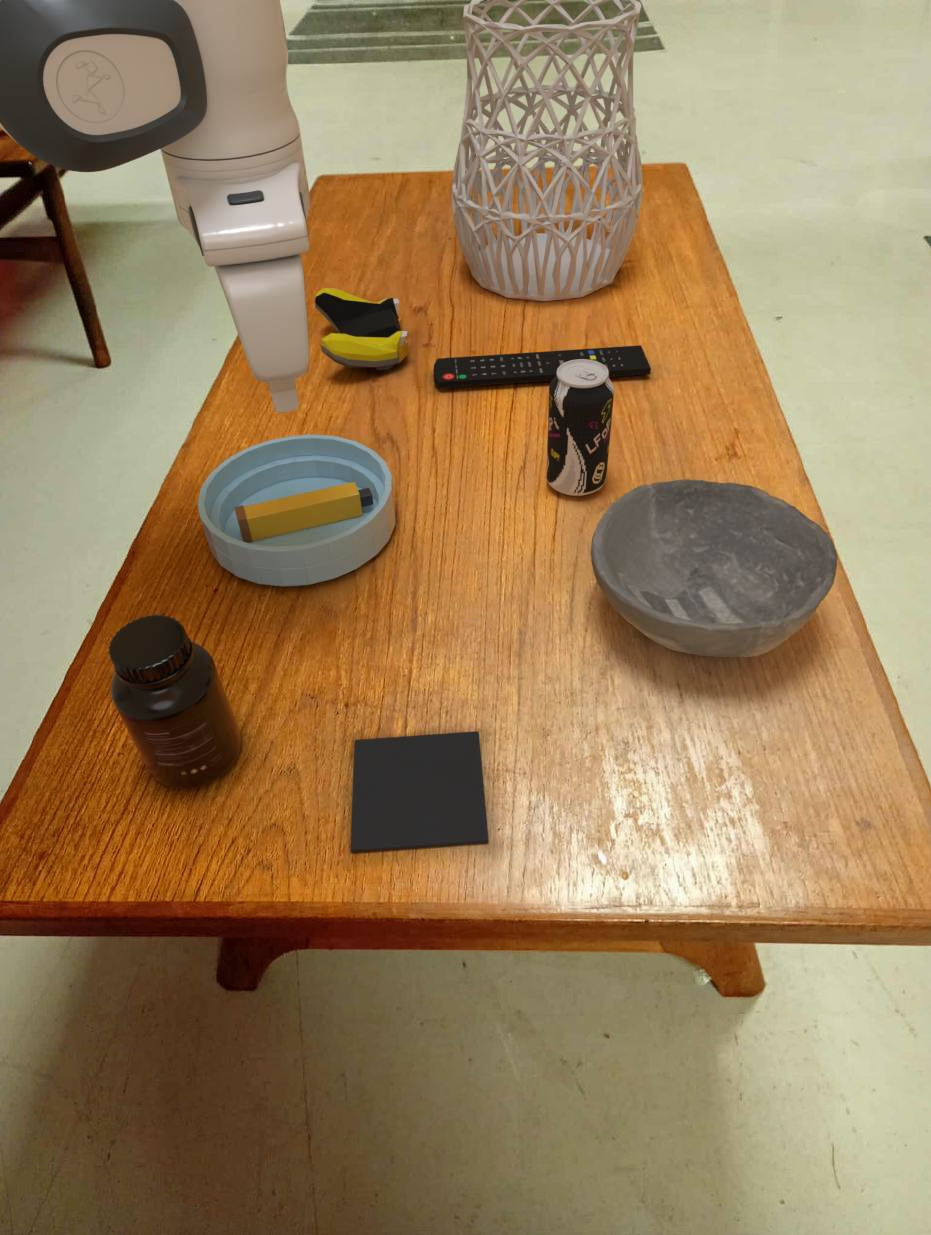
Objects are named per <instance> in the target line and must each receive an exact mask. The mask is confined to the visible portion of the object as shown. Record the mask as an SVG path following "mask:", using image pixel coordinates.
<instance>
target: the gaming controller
mask: <svg viewBox="0 0 931 1235" xmlns="http://www.w3.org/2000/svg"><path fill="white" fill-rule="evenodd" d="M314 307H315V309H317V311H318V312H319V313H320V314H321V315H322V316H323V317H324V318H325V319H326V321H327V322H328V323H329V324H330V325H331V326H332V327H333V328H334V329H335V331H336V332H337V333H335V332H330V333H329V334H327V335H326V336H324V337H323V338H321V339H320V349H321V352H322V353H323V354H324V355H325V356H326V357H328V358H329V359H330V360H332V361H333V362H334V363H337V364H339V365H341V366H342V367H345V368H348V369H350V370H351V369H367V368H375V369H376V370H378V371H379V370H380V371H386V370H390V369H393V367H394V366H395V365H398V364H401V362H402V361H403V360H404V359H405V358H406V357H407V356H409V354H410V353H409V344H408V343H409V341H408V340H407V336H408V333H409V331H407V330H403V324H402V317H401V316H400V315H399V314H398V313H399V307H400V300H399V298H393V297H387V298H383V299H381V300H379V301H376V302H375V301H374V302H373V301H370V300H367V299H365V298H362V297H359V296H356V295H354V294H351V293H349V292H346V291H344V290H341V289H339V288H336V287H335V288H334V287H323V288H321V289H320V290H319V291H317V293H316V294H315V296H314Z"/></svg>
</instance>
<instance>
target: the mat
mask: <svg viewBox="0 0 931 1235" xmlns="http://www.w3.org/2000/svg"><path fill="white" fill-rule="evenodd" d="M353 747H354V748H353V768H352V769H353V770H352V795H351V796H352V798H351V799H352V800H351V826H350V854H357V853H358V854H359V853H371V852H383V851H384V852H385V851H399V850H412V849H427V848H441V847H454V846H466V845H467V846H468V845H481V844H482V845H483V844H489V834H488V822H487V810H486V809H487V808H486V799H485V798H486V797H485V788H484V777H483V766H482V755H481V754H482V753H481V743H480V732H479V731H477V730H476V731H464V732H463V731H462V732H449V733H435V734H433V733H432V734H421V735H420V734H419V735H406V736H404V735H403V736H393V737H392V736H391V737H380V738H379V737H377V738H364V739H354V744H353Z"/></svg>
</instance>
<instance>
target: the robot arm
mask: <svg viewBox="0 0 931 1235" xmlns="http://www.w3.org/2000/svg"><path fill="white" fill-rule="evenodd" d="M288 64H289V46H288V41H287V34H286V29H285V22H284V16H283V10H282V5H281V0H0V128H1V130H3V131H4V133H6V135H8V136H9V137H10V138H11V139H12V140H13V141H14V142H15V143H16V144H18V145H19V147H21V148H23V149H24V150H25V151H27V152H28V153H29V154H31V155H32V156H33V157H35V158H37V159H39V160H40V161H42V162H44V163H46V164H48V165H51V166H53V167H56V168H59V169H62V170H65V171H69V172H76V173H98V172H102V171H107V170H111V169H113V168H117V167H120V166H122V165H125V164H128V163H130V162H132V161H133V162H134V161H135V160H137V159H140V158H143V157H145V156H147V155H150V154H152V153H155V152H157V151H158V150H159V151H160V153H161V157H162V161H163V164H164V169H165V173H166V177H167V180H168V184H169V189H170V192H171V196H172V200H173V204H174V208H175V213H176V216H177V221H178V222H179V224H180V225H181V226H182V227H183V228H184V229H186V230H187V231H188V232H189V234H190V235H191V236H192V238H193V239H194V241H196V244H197V246H198V247H199V249H200V253H201V256H202V257H203V259H204V263H205V264H206V266H208V267H214V269H215V272H216V275H217V277H218V281H219V283H220V286H221V288H222V291H223V294H224V297H225V301H226V302H227V305H228V308H229V312H230V313H231V317H232V320H233V323H234V326H235V329H236V332H237V335H238V338H239V341H240V343H241V347H242V349H243V353H244V356H245V358H246V361H247V363H248V366H249V368H250V370H251V373H252V374H253V377H254V378H255V380H256V381H257V382H259V383H264V384H265V383H267V385H268V389H269V392H270V396H271V400H272V405H273V410H274V411H275V412H276V413H279V414H284V413H288V412H294V411H297V410H298V409H299V406H300V402H299V397H298V391H297V378H301V377H305V376H306V375H307V374H308V372H309V369H310V361H311V348H310V347H311V346H310V332H309V317H308V305H307V304H308V302H307V291H306V279H305V268H304V262H303V254H307V253H309V252H310V250H311V243H310V234H309V226H308V222H307V221H308V217H309V212H310V210H311V206H312V202H311V196H310V195H311V194H310V188H309V181H308V174H307V168H306V162H305V156H304V155H305V154H304V148H303V142H302V141H303V140H302V135H301V128H300V124H299V120H298V117H297V115H296V112H295V111H294V108H293V106H292V102H291V99H290V96H289V90H288V81H287V80H288V79H287V75H288V74H287V73H288Z"/></svg>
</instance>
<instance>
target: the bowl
mask: <svg viewBox="0 0 931 1235" xmlns="http://www.w3.org/2000/svg"><path fill="white" fill-rule="evenodd" d="M590 560H591V567H592V572H593V574H594V577H595V580H596V583H597V585H598V587H599V589H600V590H601V592H602V594H603V595H604V597H605V598H606V600H608V602H609V603H610V605H611V606H612V607H613V609H615V611H616V612H617V613H618V614H619V615H620V616H621V617H622V618H623V619H624V621H626V622H628V624H630V625H632V626H633V627H634V628H635V629H637V630H638V631H639V632H641V633H642V634H643V635H644V636H645V637H647V638H649V639H650V640H652V641H653V642H655V643H656V644H657V645H658V644H659V645H660V646H663V647H664V648H666V649H669V650H672V651H675V652H681V653H686V654H688V655H696V656H701V657H711V658H751V657H757V656H761V655H764V654H766V653H768V652H770V651H772V650H774V649H776V648H777V647H779V646H780V645H782V644H783V643H785V641H787V640H788V639H789V638H791V637H792V636H793V635H795V633H797V632H799V631H800V630H801V629H802V628H803V627H804V626H805V625H806V624H807V623H808V622H809V621H810V620H811V619H812V618H813V616H814V614H815V612H816V611H817V610H818V607H819V606H820V604H821V603H822V601H824V599H826V597H827V595H828V594H829V593H830V591H831V589H832V587H833V585H834V583H835V578H836V574H837V567H838V554H837V550H836V547H835V545H834V542H833V540H832V539H831V537H830V535H829V533H827V532H826V530H824V529H823V528H822V527H821V525H820V524H819V523H817V522H815V521H814V520H812V519H810V518H809V517H807V516H806V515H805V514H804V513H803V512H801V511H800V510H799V509H798V508H797V507H796V506H795V505H792V504H790V503H789V502H787V501H785V500H784V499H781V498H779V497H777V496H774V495H770V494H769V493H768V492H767V491H766V490H763V489H761V488H759V487H757V486H752V485H749V484H748V485H747V484H741V483H735V482H717V481H708V480H703V479H689V478H684V479H675V480H668V481H656V482H653V483H651V484H642V485H638V486H636V487H635V488H632V489H630V490H629V491H628V492H626V493H624V494H623V495H621V496H620V497H618V498H617V499H616V500H615V501H614V502H612V503H611V504H610V505H609V507H608V508H607V509H606V510H605V512H604V513H603V515H602V516H601V518H600V520H599V521H598V522H597V523H596V526H595V529H594V531H593V535H592V538H591V546H590Z"/></svg>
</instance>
